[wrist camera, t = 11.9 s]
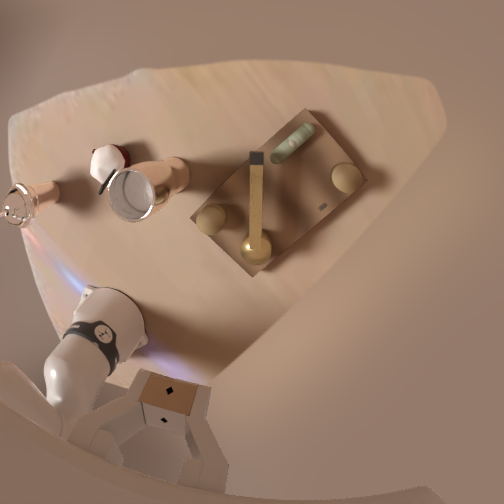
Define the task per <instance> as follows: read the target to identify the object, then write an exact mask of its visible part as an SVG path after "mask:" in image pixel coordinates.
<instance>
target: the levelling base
mask: <svg viewBox="0 0 504 504" xmlns="http://www.w3.org/2000/svg"><path fill="white" fill-rule="evenodd" d="M258 151H261V152H264V165H263V213H262V230H264V231H266V232H267V233H268V234H269V235H270V237H271V241H272V247H271V256H270V258H269V260H268V261H267V262H266V263H264V264H262V265H251V264H248V263H247V262H245V261H244V259H243V258H242V256H241V252H240V249H241V245H242V242H243V238H244V236H245V234H246V233H247V232H248V231H249V221H250V158H249V159H248V160H247V161H246V162H245V163H244V164H243V165H242V166H241V167H240V168H239V169H238V170H237V171H236V172H235V173H234V174H232V175H231V176H230V177H229V178H228V179H227V180H226V181H225V182H224V183H223V184H222V185H221V186H220V187H219V188H218V189H217V190H216V191H215V192H214V193H213V194H212V195H211V196H210V197H209V198H208V199H207V200H206V201H205V203H204V204H203V205H202V206H201V207H200V208H199V209H198V210H197V211H196V212H195V213H194V214H193V215H192V216H191V217H190V219H191V220H192V221H193V222H194V223H195V224H197V227H198V229H199V230H200V231H201V232H202V233H204V234H206V235H208V236H209V237H210V238H211V239H212V240H213V241H214V242H215V243H216V244H217V245H218V246H220V247H221V248H222V249H223V250H224V251H225V252H226V253H227V254H228V255H229V256H230V257H231V258H232V259H233V260H234V261H235V262H236V263H237V264H239V265H240V266H241V267H242V268H243V269H244V270H245V271H246V272H247V273H248V274H249V275H250V276H251V277H254V276H255V275H256V274H257V273H258V272H260V271H261V270H262V269H263V268H265V267H266V266H267V265H268V264H269V263H271V262H272V261H273V260H274V259H275V258H277V257H278V256H279V255H280V254H281V253H283V252H284V251H285V250H286V249H287V248H289V247H290V246H291V245H292V244H293V243H295V242H296V241H297V240H298V239H299V238H301V237H302V236H303V235H304V234H305V233H307V232H308V231H309V230H310V229H311V228H313V227H314V226H315V225H316V224H317V223H318V222H320V221H321V220H322V219H323V218H324V217H325V216H327V215H328V214H329V213H330V212H331V211H333V210H334V209H335V208H336V207H337V206H338V205H340V204H341V203H342V202H343V201H344V200H345V199H347V198H348V197H349V196H350V195H351V194H352V193H354V192H355V191H356V190H357V189H358V188H359V187H361V186H362V185H363V184H364V183H365V182H366V181H367V179H366V178H365V176H364V175H363V174H362V173H361V171H360V170H359V169H358V167H357V166H356V165H355V164H354V163H353V161H352V160H351V159H350V158H349V156H348V155H347V154H346V153H345V152H344V150H343V149H342V148H341V147H340V146H339V145H338V143H337V142H336V141H335V140H334V139H333V138H332V136H331V135H330V134H329V133H328V132H327V131H326V130H325V129H324V128H323V126H322V125H321V124H320V123H319V122H318V121H317V120H316V119H315V118H314V117H313V116H312V115H311V113H310V112H309V111H308V110H307V109H306V108H305V109H303V110H302V111H301V112H300V113H299V114H298V115H296V116H295V117H294V118H293V119H292V120H291V121H290V122H288V123H287V124H286V125H285V126H284V127H283V128H282V129H281V130H279V131H278V132H277V133H276V134H275V135H274V136H273V137H272V138H271V139H270V140H268V141H267V142H266V143H265V144H264V145H263V146H262V147H261V148H260V149H259V150H258Z"/></svg>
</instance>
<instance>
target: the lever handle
mask: <svg viewBox="0 0 504 504" xmlns="http://www.w3.org/2000/svg"><path fill="white" fill-rule="evenodd" d="M263 165H264V152H261V151H251V152H250V221H249V231H248V232H247V233H246V234H245V236H244V238H243V242H242V245H241V249H240V252H241V256H242V258H243V259H244V261H245V262H247V263H248V264H251V265H262V264H264V263H266V262H267V261H268V260H269V258H270V256H271V247H272V241H271V237H270V235H269V234H268V233H267V232H266V231H264V230H262V213H263Z"/></svg>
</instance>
